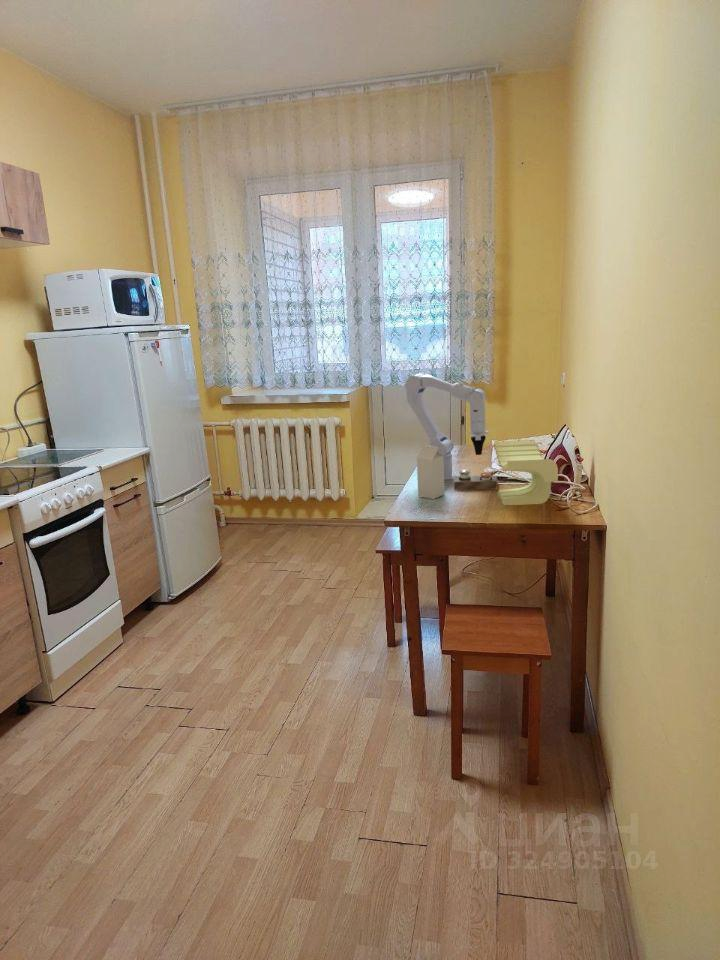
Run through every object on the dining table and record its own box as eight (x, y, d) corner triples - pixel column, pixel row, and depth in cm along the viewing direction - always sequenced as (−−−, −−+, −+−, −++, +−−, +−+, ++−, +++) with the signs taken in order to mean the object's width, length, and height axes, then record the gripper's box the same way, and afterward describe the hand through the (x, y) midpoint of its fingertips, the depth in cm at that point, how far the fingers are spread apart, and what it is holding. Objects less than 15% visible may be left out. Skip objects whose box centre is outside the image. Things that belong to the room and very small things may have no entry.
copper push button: (480, 486, 226) (480, 475, 224) (480, 483, 229) (480, 472, 228) (491, 486, 225) (491, 475, 224) (491, 483, 228) (491, 472, 227)
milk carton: (433, 499, 215) (431, 448, 210) (418, 496, 220) (416, 446, 215) (444, 494, 220) (443, 444, 215) (429, 491, 225) (427, 443, 220)
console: (454, 489, 226) (453, 481, 225) (454, 483, 233) (454, 476, 233) (496, 488, 223) (496, 481, 222) (496, 483, 230) (496, 475, 229)
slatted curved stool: (556, 511, 194) (558, 458, 190) (507, 513, 196) (507, 461, 191) (537, 485, 223) (538, 439, 218) (495, 487, 225) (494, 441, 220)
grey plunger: (459, 482, 227) (459, 472, 226) (459, 480, 231) (459, 469, 229) (469, 482, 226) (469, 471, 225) (470, 479, 230) (469, 469, 229)
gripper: (488, 423, 222) (489, 458, 226) (488, 417, 236) (488, 450, 239) (469, 424, 224) (470, 459, 227) (470, 417, 237) (471, 450, 241)
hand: (478, 454), depth 233 cm, fingers closed
